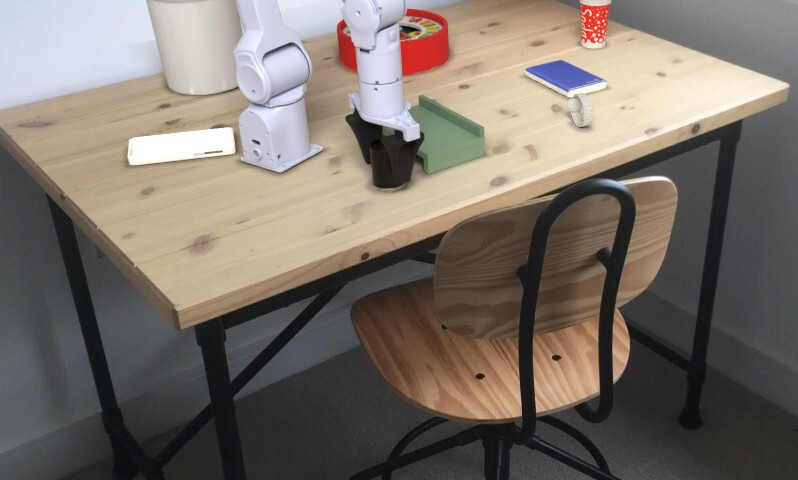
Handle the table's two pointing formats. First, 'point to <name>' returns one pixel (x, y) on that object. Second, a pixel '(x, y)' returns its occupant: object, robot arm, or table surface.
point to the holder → (382, 169)
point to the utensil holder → (197, 43)
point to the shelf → (444, 135)
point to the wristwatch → (576, 105)
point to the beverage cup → (594, 22)
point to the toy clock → (407, 42)
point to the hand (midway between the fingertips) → (387, 171)
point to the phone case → (180, 146)
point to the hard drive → (565, 78)
